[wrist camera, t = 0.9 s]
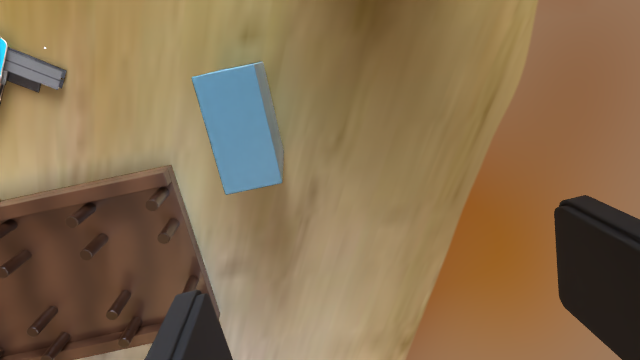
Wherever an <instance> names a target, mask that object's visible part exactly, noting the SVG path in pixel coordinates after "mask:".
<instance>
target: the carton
mask: <svg viewBox="0 0 640 360" xmlns="http://www.w3.org/2000/svg"><path fill="white" fill-rule="evenodd" d="M192 81H193V85H194V88H195V92H196V95H197V99H198V102H199V106H200V109H201V112H202V116H203V119H204V123H205V126H206V130H207V133H208V137H209V140H210V143H211V147H212V150H213V154H214V157H215V161H216V164H217V168H218V171H219V174H220V178H221V181H222V185H223V188H224V192H225V194H226V195H228V194H233V193H237V192H242V191H247V190H252V189H256V188H261V187H266V186H271V185H275V184H280V183H282V179H283V161H284V149H283V145H282V141H281V137H280V132H279V128H278V124H277V119H276V115H275V111H274V106H273V102H272V98H271V94H270V89H269V85H268V81H267V76H266V72H265V68H264V64H263V62H257V63H252V64H247V65H243V66H238V67H233V68H228V69H223V70H219V71H214V72H210V73H206V74H202V75H199V76H195V77H192Z"/></svg>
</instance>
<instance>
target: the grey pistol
mask: <svg viewBox="0 0 640 360" xmlns="http://www.w3.org/2000/svg"><path fill="white" fill-rule="evenodd" d="M44 49H46V47H44ZM65 74H66V70H64V69H61V68H59V67H56V66H54V65H51V64H49V63H46V62H44V61H42V60H39V59H37V58H34V57H32V56H29V55H26V54H24V53H21V52H19V51H16V50H14V49H11V48H9V47H7V43H6V41H5V40H4V39H3V38H0V104H1V99H2V95H3V90H4V85H6V81H9V82H12V83H15V84H17V85H20V86H23V87H25V88H28V89H31V90H33V91H36V92H39V90H40V86H41V84H43V85H46V86H49V87H51V88H54V89H56V90H58V87H59V88H62V86H63V82H64V80H62V79H61V78H63V79H64V78H65Z"/></svg>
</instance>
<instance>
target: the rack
mask: <svg viewBox="0 0 640 360" xmlns="http://www.w3.org/2000/svg"><path fill="white" fill-rule="evenodd" d="M194 290H200V291H201V293H202V294H205V293H207V294H208V295H209V296H210V298H211V301H212V304H213V306H214V309H215V312H216V315H217V317H218V320H219V316H220V312H219V309H218V306H217V303H216V300H215V297H214V294H213V291H212V288H211V285H210V282H209V278H208V275H207V272H206V269H205V266H204V263H203V260H202V257H201V254H200V251H199V248H198V245H197V242H196V239H195V236H194V233H193V230H192V227H191V224H190V220H189V217H188V214H187V211H186V208H185V205H184V202H183V199H182V196H181V193H180V190H179V187H178V184H177V181H176V178H175V175H174V172H173V169H172V166H171V165H169V166H164V167H159V168H155V169H150V170H145V171H140V172H136V173H131V174H126V175H121V176H117V177H112V178H107V179H102V180H98V181H93V182H88V183H84V184H79V185H74V186H69V187H65V188H60V189H55V190H50V191H46V192H41V193H36V194H31V195H27V196H22V197H17V198H12V199H8V200H3V201H0V360H75V359H80V358H84V357H89V356H94V355H98V354H103V353H108V352H112V351H117V350H122V349H126V348H131V347H136V346H140V345H145V344H150V343H153V342H154V340H155V337H156V335H157V333H158V331H159V329H160V327H161V325H162V323H163V321H164V319H165V317H166V314H167V312H168V310H169V308H170V306H171V304H172V302H173V300H174V298H175V296H176V295H178V294H182V293H186V292H190V291H194Z"/></svg>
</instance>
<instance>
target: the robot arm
mask: <svg viewBox="0 0 640 360" xmlns="http://www.w3.org/2000/svg"><path fill="white" fill-rule="evenodd" d="M554 218H555V235H556V252H557V269H558V270H557V271H558V288H559V297H560V300H561V302H562V304H563V306H564V307H565V308H566V309H567V310H568V311H569V312H570V313H571V314H572V315H573V316H575V317H576V318H577V319H578V320H579V321H580V322H581V323H582V324H584V325H585V326H586V327H587V328H588V329H589V330H590V331H591V332H592V333H593V334H594V335H596V336H597V337H598V338H599V339H600V340H601V341H602V342H603V343H604V344H605V345H607V346H608V347H609V348H610V349H611V350H612V351H613V352H614V353H615V354H617V355H618V356H619V357H620V358H621V359H622V360H640V220H639V219H637V218H635V217H633V216H630V215H629V214H626V213H624V212H622V211H620V210H618V209H615V208H613V207H611V206H609V205H607V204H605V203H602V202H600V201H598V200H596V199H594V198H592V197H589V196H586V195H584V196H580V197H576V198H571V199H567V200H563V201H561V202H560V205H559V207H557V208H556V209H555V212H554ZM144 360H233V359H232V356H231V353H230V350H229V348H228V345H227V342H226V339H225V337H224V334H223V331H222V328H221V326H220V323H219V320H218V317H217V315H216V312H215V309H214V306H213V304H212V301H211V298H210V296H209V295H208V294H207V293H205V294H202V293H201V291H200V290H194V291H190V292H186V293H182V294H178V295H176V296H175V298H174V300H173V302H172V304H171V306H170V308H169V310H168V312H167V314H166V317H165V319H164V321H163V323H162V325H161V327H160V329H159V331H158V333H157V335H156V337H155V340H154V342H153V344H152V346H151V348H150V350H149V352H148V354H147V356H146V358H145V359H144Z"/></svg>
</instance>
